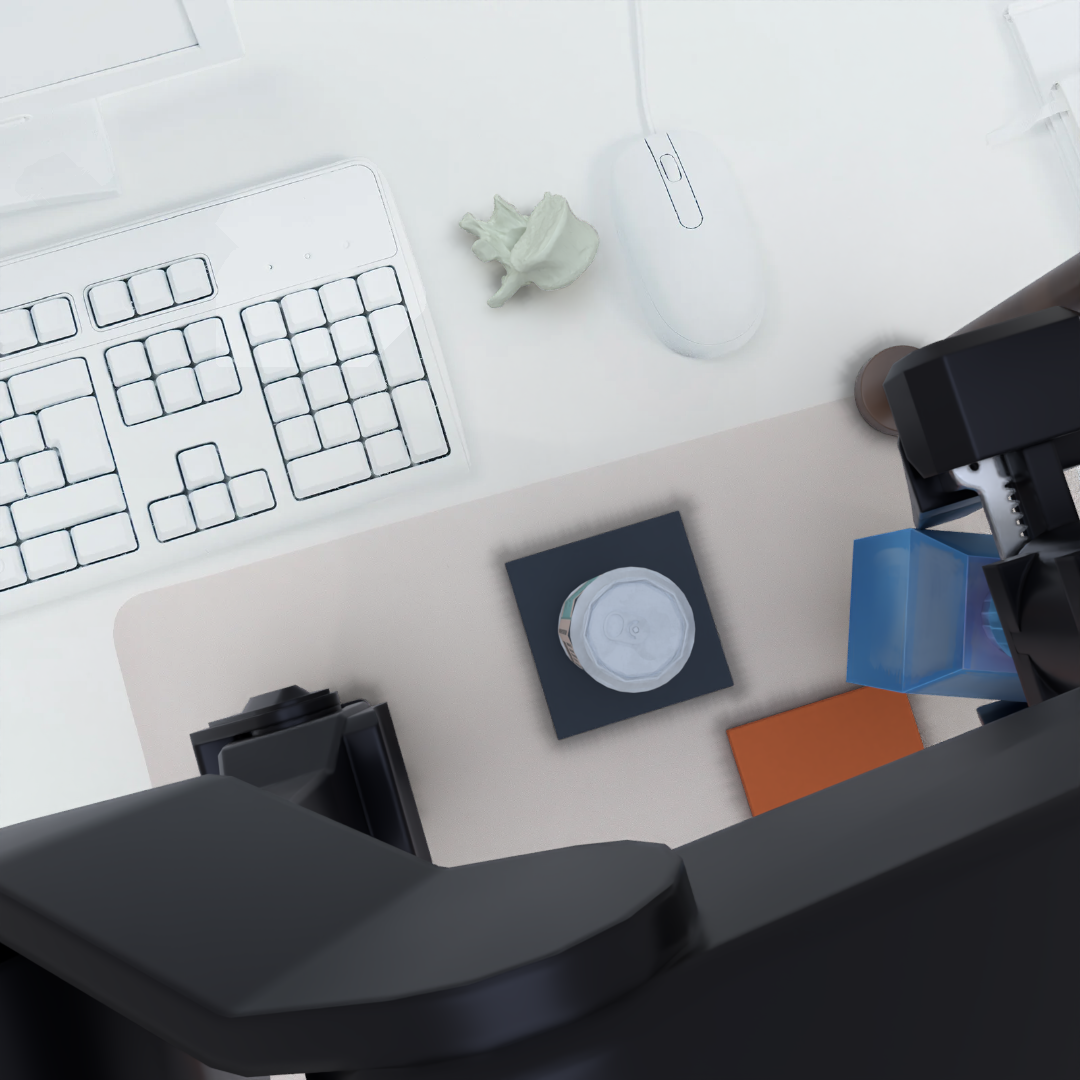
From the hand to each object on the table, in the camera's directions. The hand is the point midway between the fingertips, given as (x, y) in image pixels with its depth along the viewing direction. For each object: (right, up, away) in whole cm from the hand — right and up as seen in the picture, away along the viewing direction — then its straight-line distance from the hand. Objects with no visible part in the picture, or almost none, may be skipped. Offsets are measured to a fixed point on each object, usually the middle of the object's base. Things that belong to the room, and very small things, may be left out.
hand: (958, 615), depth 40 cm
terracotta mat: (-2, -9, +10) cm, 14 cm away
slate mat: (-13, -1, +10) cm, 16 cm away
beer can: (-13, -1, +10) cm, 17 cm away
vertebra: (-18, +18, +8) cm, 27 cm away
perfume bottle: (0, 0, +5) cm, 5 cm away
